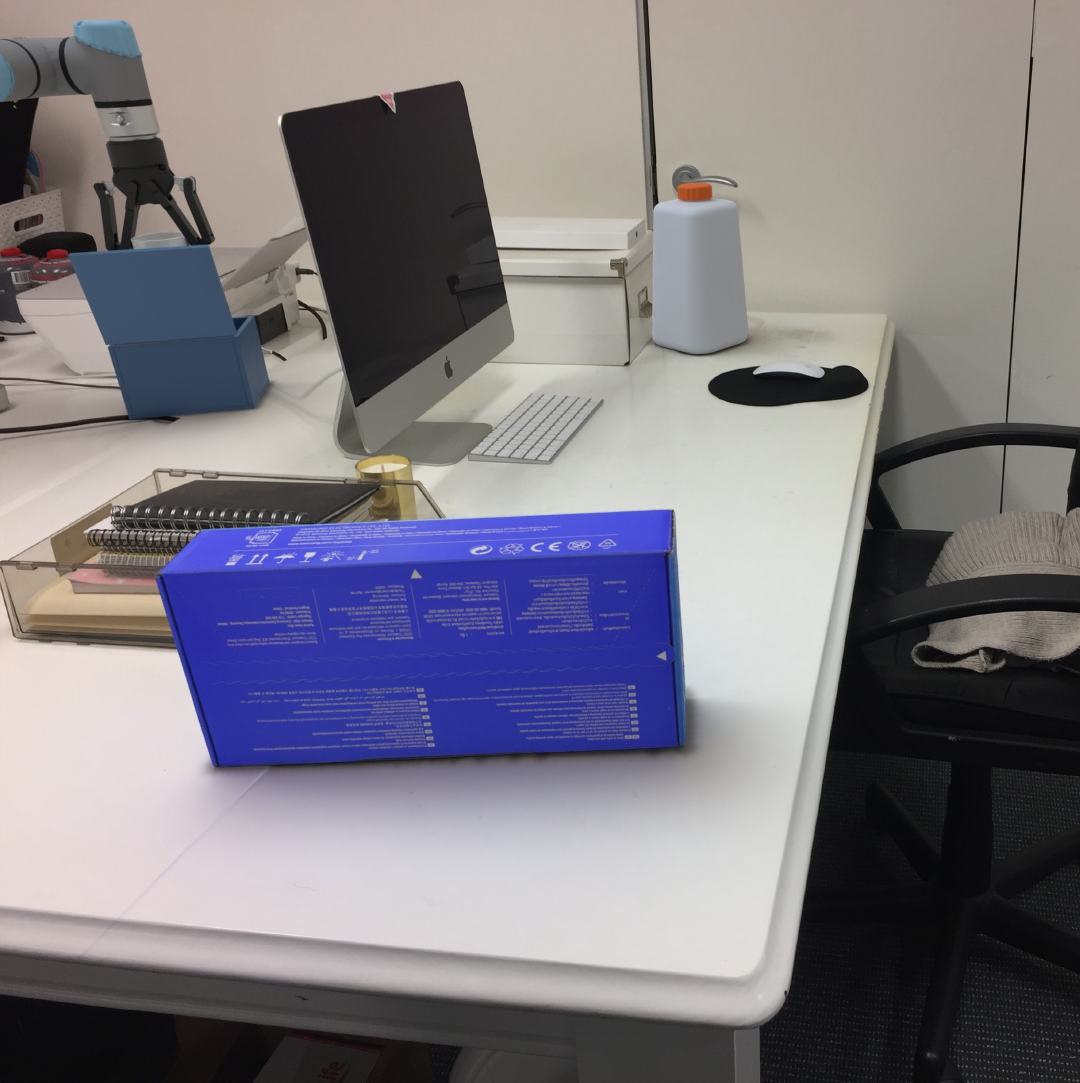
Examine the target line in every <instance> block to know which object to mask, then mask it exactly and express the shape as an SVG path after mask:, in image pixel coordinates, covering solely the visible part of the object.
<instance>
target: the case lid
mask: <svg viewBox="0 0 1080 1083" xmlns="http://www.w3.org/2000/svg"><path fill="white" fill-rule="evenodd" d="M68 258H69V261H70V263H71V266H72V268H73V270H74V272H75V275H76V277H77V280H78V283H79V285H80V287H81V289H82V292H83V294H84V297H85V299H86V301H87V303H88V306H89V308H90V311H91V313H92V315H93V318H94V320H95V323H96V325H97V328H98V330H99V333H100V335H101V337H102V339H103V342H104V344H105V346H110V345H116V344H128V343H141V342H154V341H167V340H180V339H193V338H206V337H219V336H232V335H236V334H237V331H236V328H235V325H234V322H233V319H232V317H233V315H232V312H231V309H230V306H229V303H228V300H227V297H226V294H225V290H224V288H223V286H222V282H221V278H220V276H219V272H218V269H217V266H216V262H215V260H214V257H213V254H212V251H211V248H210V245H194V246H191V245H190V246H178V247H162V248H146V249H130V250H114V251H108V250H100V251H99V250H98V251H86V252H84V251H83V252H72V253H71V252H70V253H69V254H68Z"/></svg>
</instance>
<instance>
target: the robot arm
mask: <svg viewBox="0 0 1080 1083" xmlns="http://www.w3.org/2000/svg"><path fill="white" fill-rule="evenodd" d="M72 28H73V36H66V37H11V38H0V103H4V102H12V101H18V100H27V99H28V100H29V99H38V98H45V97H48V98H49V97H62V96H80V95H83V96H90V95H91V97H92V100H93V101H92V102H93V104H94V107H95V111H96V116H97V118H98V122H99V125H100V128H101V133H102V135H103V136H104V137H105V138H108V140H107V141H106V143H105V147H106V151H107V154H108V158H109V162H110V166H111V169H112V178H111V179H109V180H108V179H107V180H99V181H97V182H95V183H94V184H93V185H92V186H93V189H94V192H95V194H96V196H97V198H98V199H99V207H100V215H101V222H102V229H103V238H104V246H105V249H106V251H114V250H130V249H134V248H133V245H132V242H131V238H133V237H135V236H136V233H137V225H138V220H139V213H140V209H141V206H145V205H148V204H150V205H160V206H161V208H162V209H163V210H164V211H166V213H167V215H168V216H169V218H171V220H172V222H173V223H174V224H175V226H176V227H177V229H178V231H181V233H182V234H183V235H184V237H185V238H186V240H187V241H188V243H189V244H190V246H194V245H209V246H210V245H211V244H213V243H214V242H216V237H215V235H214V234H215V233H214V232H213V230H212V227H211V225H210V224H211V223H210V222H209V220H208V217H207V214H206V213H205V210H204V207H203V204H202V203H201V200H200V198H199V195H198V193H197V180H196V178H195V176H193V175H189V176H180V175H175V173H174V172H173V171H172V170H171V168H170V164H169V160H168V156H167V152H166V148H165V144H164V140H163V139H162V138H161V137H158V135H160V133H161V128H160V125H159V120H158V116H157V113H156V110H155V109H156V108H155V106H154V102H153V99H152V96H151V93H150V88H149V84H148V78H147V75H146V71H145V67H144V66H145V65H144V63H143V54H142V52H141V50H140V47H139V43H138V41H137V38H136V34H135V31H134V28H133V26H132V25H131V23H130V22H128V21H126V20H123V19H92V20H77V21H74V22H73V24H72ZM175 185H177V187H178V189H179V191H180V192H182V193H183V196H184V199H185V201H186V204H187V206H188V209H189V211H190V213H191V216H192V218H193V220H194V223H195V225H196V228H197V230H198V232H197V231H196V229H195V228H194V226H193V224H191V222H190V221H189V219H188V218H187V217H186V215H185V213H184V212H183V211H182V209H181V208H180V206H179V205H178V202H177V200H176V198H174V196H173V195H172V190H173V189H174V187H175ZM115 188H116V189H117V190H118V191H120V192H121V193H122V194H123V195H124V196H125V197H126V198H125V203H124V204H125V205H124V210H125V213H124V218H123V224H122V225H123V226H122V232H121V238H120V240H119V231H118V224H117V215H116V206H115V199H114V195H115V193H116V191H115ZM198 233H199V234H198Z"/></svg>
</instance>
